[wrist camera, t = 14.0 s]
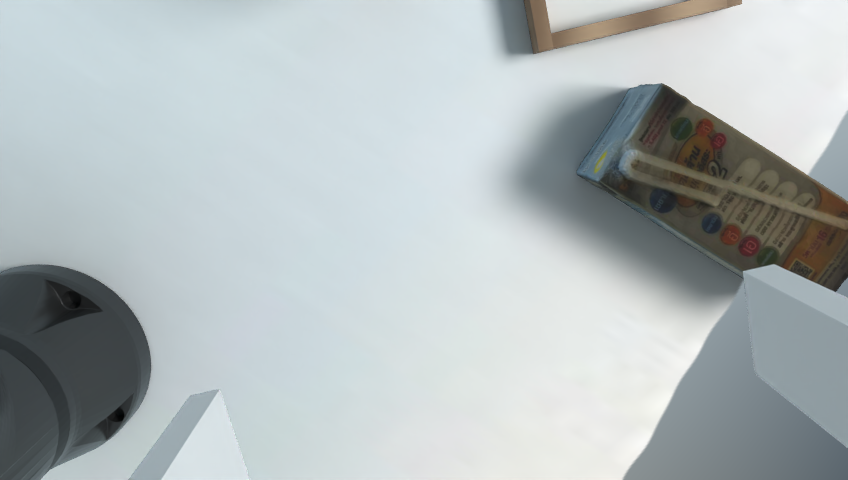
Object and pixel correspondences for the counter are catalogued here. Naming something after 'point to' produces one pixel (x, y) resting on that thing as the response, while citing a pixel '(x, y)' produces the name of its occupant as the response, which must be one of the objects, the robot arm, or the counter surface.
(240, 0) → the counter surface
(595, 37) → the frame
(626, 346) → the counter surface
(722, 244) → the beverage carton
